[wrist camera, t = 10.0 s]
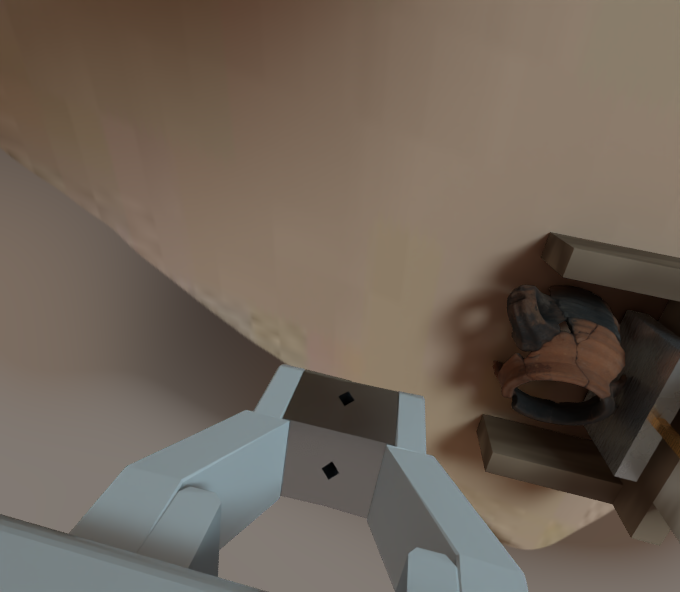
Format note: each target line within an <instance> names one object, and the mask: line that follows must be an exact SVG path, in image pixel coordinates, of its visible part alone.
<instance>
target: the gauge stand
mask: <svg viewBox="0 0 680 592" xmlns="http://www.w3.org/2000/svg"><path fill="white" fill-rule="evenodd" d="M541 258H542V259H543V260H544V261H545V262H547V263H548V264H549V265H550V266H551V267H552V268H553V269H554V270H555V271H557V272H558V273H559V274H560V275H561V276H562V277H564V278H569V279H574V280H579V281H584V282H588V283H593V284H598V285H603V286H608V287H612V288H617V289H622V290H627V291H632V292H636V293H641V294H646V295H651V296H656V297H660V298H665V299H670V300H669V302H668V304H667V306H666V308H665V310H664V312H663V314H662V315H661V317H660V319H659V321H658V322H659V323H661V324H662V325H663V326H665V327H666V328H667V329H669V330H670V331H672V332H673V333H674V334H676V335H677V336H678V337H680V258H677V257H672V256H667V255H662V254H657V253H652V252H647V251H642V250H637V249H632V248H627V247H622V246H617V245H611V244H606V243H601V242H596V241H591V240H586V239H581V238H576V237H571V236H566V235H561V234H556V233H551V232H550V235H549V237H548V240H547V243H546V246H545V248H544V251H543V254H542V256H541ZM670 425H671V426H672V427H673V429H674V430H675V431H676V432H677V433H678V434H679V435H680V409H679V410H678V412H677V414H676V415H675V417H674V419H673V420H672V422H671V424H670ZM477 435H478V440H479V445H480V449H481V454H482V458H483V463H484V468H485V472H489V473H493V474H497V475H501V476H505V477H509V478H513V479H516V480H520V481H524V482H528V483H532V484H536V485H540V486H544V487H548V488H552V489H555V490H559V491H563V492H567V493H571V494H575V495H579V496H583V497H587V498H591V499H594V500H598V501H602V502H606V503H610V504H613V506H614V508H615V510H616V511H617V513H618V515H619V517H620V519H621V520H622V522H623V524H624V526H625V528H626V530H627V531H628V533H629V535H630V537H631V538H633V539H637V540H641V541H645V542H648V543H652V544H656V545H661V543H662V541H663V540H664V538H665V537H666V535H667V534H668V533H669V531H670V530H671V531H672V532H673V534H674V535H675V537H676V538H677V540H678V541H679V543H680V458H679V457H678V455H677V454H676V453H675V452H674V451H673V450H672V448H671V447H670V446H669V445H668V444H667V442H666V441H665V440H664V439H663V438H662V439H661V441H660V443H659V444H658V446H657V448H656V449H655V451H654V453H653V454H652V456H651V458H650V460H649V461H648V463H647V465H646V466H645V468H644V470H643V472H642V473H641V475H640V477H639V478H638V480H637V482H636V481H632V480H628V479H624V478H620V477H616V476H614V475H613V473H612V472H611V470H610V468H609V467H608V465H607V463H606V462H605V460H604V458H603V457H602V455H601V453H600V452H599V450H598V448H597V447H596V445H595V443H594V442H593V441H592V440H587V439H583V438H579V437H575V436H571V435H567V434H563V433H559V432H555V431H550V430H546V429H542V428H538V427H534V426H530V425H526V424H522V423H518V422H514V421H509V420H505V419H501V418H497V417H493V416H489V415H485V414H483V416H482V418H481V421H480V424H479V427H478V429H477Z"/></svg>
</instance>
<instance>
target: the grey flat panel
mask: <svg viewBox="0 0 680 592" xmlns="http://www.w3.org/2000/svg"><path fill="white" fill-rule="evenodd" d="M620 339H621V342H620V346H621V347H622V348H623V350H624V351H625V363H626V364H625V366H624V367H623V369H622V371H621V372H620V373H619V374H618V375H617V377H616V378H615V379H613V380H612V381H611V382H615V381H617V380H619V378H620V376H621V375H622V374H625V375H626V377H627V381H626V383H625V385H624V386H623V388H622V390H621V392H620V393H619V394H618V395H617V396H616V397H615V398H614V401H615V407H616V409H615V410H614V412H613V413H612V414H611V415H610V416H609V417H608V418H605V419H604V420H601V421H599V422H596V423H592V424H587V425H584V427H585V428H586V430H587V432H588V433H589V435H590V437H591V438H592V440H593V442H594V443H595V445H596V447H597V448H598V450H599V452H600V453H601V455H602V457H603V458H604V460H605V462H606V463H607V465H608V467H609V468H610V470H611V472H612V473H613V475H614V476H616V477H620V478H624V479H628V480H632V481H636V482H637V480H638V478H639V477H640V475H641V473H642V472H643V470H644V468H645V466H646V465H647V463H648V461H649V460H650V458H651V456H652V454H653V453H654V451H655V449H656V448H657V446H658V444H659V443H660V441H661V439H662V438H663V439H664V440H665V441H666V442H667V444H668V445H669V446H670V447H671V448H672V450H673V451H674V452H675V453H676V454H677V455H678V457H679V458H680V435H679V434H678V433H677V432H676V431H675V430H674V429H673V427H672V426H671V425H670V424H671V422H672V420H673V419H674V417H675V415H676V414H677V412H678V410H679V409H680V337H678V336H677V335H676V334H674V333H673V332H672V331H670V330H669V329H667V328H666V327H665V326H663V325H662V324H661V323H659V322H658V321H657V320H655V319H654V318H652V317H651V316H650V315H648V314H645V313H640V312H636V311H631V310H627V312H626V314H625V316H624V318H623V320H622V322H621V324H620ZM593 396H596V394H595V393H593V392H592V391H590V390H589V391H588V394H587V396H586V398H585V400H584V401H587V400H589V399H591V398H592V397H593ZM600 401H601V398H600Z"/></svg>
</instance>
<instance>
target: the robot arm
mask: <svg viewBox="0 0 680 592" xmlns="http://www.w3.org/2000/svg"><path fill="white" fill-rule="evenodd" d="M280 496H284V497H289V498H293V499H297V500H302V501H306V502H310V503H314V504H319V505H323V506H327V507H330V508H333V509H337V510H340V511H343V512H347V513H350V514H354V515H357V516H360V517H364V518H367V522H368V525H369V527H370V530H371V532H372V535H373V537H374V540H375V542H376V545H377V547H378V550H379V553H380V555H381V558H382V560H383V563H384V565H385V568H386V570H387V572H388V575H389V578H390V580H391V583H392V585H393V588H394V590H395V592H528V588H527V583H526V579H525V574H524V573H523V572H522V570H521V569H520V568H519V566H518V565H517V564H516V563H515V561H514V560H513V559H512V557H511V556H510V555H509V553H508V552H507V551H506V550H505V548H504V547H503V545H502V544H501V543H500V542H499V540H498V539H497V538H496V536H495V535H494V534H493V532H492V531H491V530H490V529H489V527H488V526H487V525H486V523H485V522H484V521H483V519H482V518H481V517H480V516H479V514H478V513H477V512H476V510H475V509H474V508H473V506H472V505H471V504H470V503H469V501H468V500H467V499H466V497H465V496H464V495H463V493H462V492H461V491H460V490H459V488H458V487H457V486H456V484H455V483H454V482H453V480H452V479H451V478H450V477H449V475H448V474H447V473H446V471H445V470H444V469H443V467H442V466H441V465H440V464H439V462H438V461H437V460H436V458H435V457H434V456H431V455H427V454H426V430H425V399H424V397H423V396H420V395H415V394H410V393H405V392H400V391H399V392H397V391H393V390H388V389H384V388H379V387H374V386H370V385H365V384H361V383H356V382H352V381H350V380H346V379H342V378H338V377H334V376H330V375H326V374H322V373H318V372H315V371H311V370H307V369H306V370H305V369H303V368H298V367H294V366H290V365H285V364H282V365H281V366H279V367H278V369H277V371H276V372H275V374H274V376H273V378H272V379H271V381H270V383H269V385H268V386H267V388H266V390H265V392H264V393H263V395H262V397H261V399H260V400H259V402H258V404H257V406H256V407H255V409H254V411H253V412H252V411H248V410H245V411H243V412H241V413H239V414H237V415H234V416H232V417H230V418H228V419H226V420H224V421H222V422H219V423H217V424H215V425H213V426H211V427H209V428H207V429H205V430H203V431H200V432H198V433H196V434H194V435H192V436H190V437H187V438H185V439H183V440H181V441H179V442H177V443H175V444H173V445H170V446H168V447H166V448H164V449H162V450H160V451H158V452H155V453H153V454H151V455H149V456H147V457H145V458H143V459H141V460H139V461H137V462H134V463H132V464H130V465H128V466H126V467H125V469H123V471H122V472H121V473H120V474H119V475H118V476H117V478H116V479H115V480H114V481H113V482H112V483H111V485H110V486H109V487H108V488H107V489H106V491H105V492H104V493H103V494H102V495H101V496H100V498H99V499H98V500H97V501H96V502H95V503H94V505H93V506H92V507H91V508H90V509H89V511H88V512H87V513H86V514H85V515H84V516H83V517H82V519H81V520H80V521H79V522H78V524H77V525H76V526H75V527H74V528H73V529H72V530H71V532H70V533H69V534H67V533H64V532H60V531H57V530H53V529H50V528H46V527H43V526H40V525H36V524H32V523H29V522H25V521H22V520H19V519H15V518H12V517H8V516H5V515H2V514H0V592H267V591H263V590H260V589H257V588H253V587H249V586H246V585H243V584H239V583H236V582H233V581H229V580H226V579H222V578H219V577H218V563H219V561H218V560H219V550H220V549H221V548H222V547H224V546H225V545H226V544H227V543H228V542H229V541H230V540H232V539H233V538H234V537H235V536H236V535H238V534H239V533H240V532H241V531H242V530H243V529H244V528H246V527H247V526H248V525H249V524H250V523H252V522H253V521H254V520H255V519H256V518H257V517H258V516H259V515H261V514H262V513H263V512H264V511H265V510H267V509H268V508H269V507H270V506H271V505H272V504H274V503H275V502H276V501H277V500H278V499H279V498H280Z"/></svg>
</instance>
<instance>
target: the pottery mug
mask: <svg viewBox="0 0 680 592" xmlns="http://www.w3.org/2000/svg"><path fill="white" fill-rule="evenodd" d="M507 312H508V317H509V320H510V322H511V325H512V327H513V332H512V338H513V339H514V341H515V343H516V345H517V347H518V348H519V349H521V350H523V351H531V352H530V354H529V355H528V356H527V357H526V358H523V357H522V356H521V355H520V354H519V353H515V354H514V355H513V356H512V357H511V358H510V359H509V360H508V361H507V362H505V363H504V364H502V363H500V362H498V361H496V360H495V361H494V365H493V368H494V371H495V372H494V373H495V376H496V377H497V379H498V381H499V383H500V384H501V386H502V388H501V389H502V391H501V392H502V396H503V397H508V398H511V397H512V404H511V406H512V409H513V410H515V411H517V412H518V413H520V414H522V415H525V416H527V417H529V418H532V419H535V420H538V421H542V422H547V423H549V422H550V423H553V424H560V425H587V424H592V423H596V422H599V421H601V420H604V419H605V418H608V417H609V416H610V415H611V414H612V413H613V412H614V410H615V409H616V407H615V401H614V398H615V397H616V396H617V395H618V394H619V393H620V392H621V390H622V388H623V386H624V385H625V383H626V381H627V377H626V375H625V374H622V375H621V376H620V378H619V380H617V381H615V382H611V381H612V380H613V379H615V378H616V377H617V375H618V374H619V373H620V372H621V371H622V369H623V367H624V366H625V364H626V363H625V351H624V350H623V348H622V347H621V346H620V342H621V339H620V325H619V323H618V321H617V320H616V318H615V317H614V316H613V314H612V312H611V309H610V307H609V306H608V305H607V303H606V302H605V301H604V300H602V298H600V297H599V296H597V295H595V294H594V293H592V292H590V291H587V290H584V289H581V288H577V287H572V286H552V287H550V296H548V295H545V294H543V293H541V292H540V291H539V290H538V288H537V287H535V286H530V285H522V286H520V287H518V288H515V289H514V290H513V291H512V292H511V294H510V295H509V297H508V300H507ZM563 321H565V322H566V323H567V325H568V327H569V329H570V331H571V333H569V332H566V331H560V326H559V325H558V324H560V323H561V322H563ZM533 380H550V381H561V382H567V383H572V384H575V385H578V386H581V387H585V388H586V389H588V390H590V391H592V392H593V393H595V394H596V396H593V397H592V398H591V399H589V400H587V401H583V402H579V403H574V402H573V403H572V402H564V403H555V402H554V401H551V400H547V399H541V398H537V397H533V396H530V395H528V394H526V393H524V392H523V391H521V390H520V389H518V388H517V387H518V386H519V385H521V384H524V383H527V382H530V381H533ZM600 398H601V401H600Z"/></svg>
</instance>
